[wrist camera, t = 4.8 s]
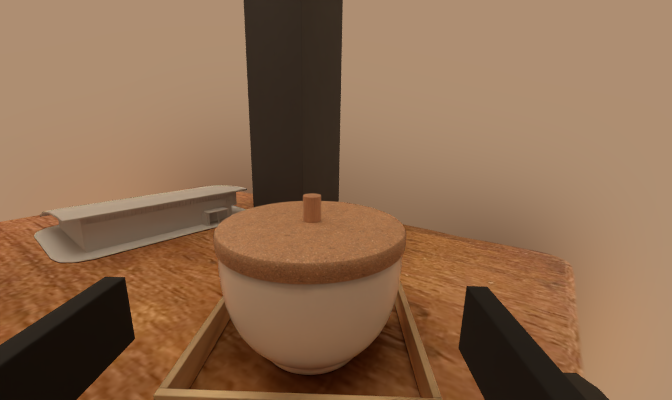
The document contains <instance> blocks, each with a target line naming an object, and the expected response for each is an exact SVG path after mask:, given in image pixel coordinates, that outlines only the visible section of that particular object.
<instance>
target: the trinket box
mask: <svg viewBox="0 0 672 400" xmlns="http://www.w3.org/2000/svg"><path fill="white" fill-rule="evenodd" d="M213 239H214V248H215V253H216V256H217V258H218V269H219V277H220V284H221V288H222V293H223V297H224V301H225V305H226V308H227V311H228V313H229V316H230V319H231V321H232V323H233V324H234V326H235V328H236V329H237V331H238V333H239V334H240V336H241V337H242V339H243V340H244V341H245V342H246V343H247V344H248V345H249V346H250V347H251V348H252V349H253V350H254V351H256V352H257V353H259V354H260V355H261V356H263V357H265V358H266V359H268V360H270V361H272V362H273V363H274V364H275V365H276V366H278V367H279V368H281V369H283V370H286V371H288V372H292V373H296V374H302V375H315V374H323V373H327V372H331V371H333V370H336V369H338V368H340V367H342V366H344V365H345V364H346V363H348V362H349V361H350V360H351V359H352V358H353V357H355V356H356V355H358V354H359V353H361V352H362V351H363V350H365V349H366V348H367V347H368V346H369V345H370V344H371V343H372V342H373V341H374V340H375V339H376V337H377V336H378V335H379V334H380V333H381V331H382V329H383V328H384V326H385V324H386V322H387V321H388V319H389V317H390V315H391V312H392V309H393V306H394V303H395V300H396V296H397V292H398V287H399V283H400V276H401V268H402V255H403V253H404V250H405V245H406V230H405V228H404V227H403V225H402V223H401V222H399V221H398V220H397V219H396V218H394V217H393V216H391V215H389V214H387V213H385V212H382V211H380V210H377V209H374V208H370V207H366V206H362V205H357V204H351V203H343V202H335V201H321V195H320V194H314V193H310V194H304V195H303V201H290V202H281V203H273V204H267V205H262V206H258V207H254V208H250V209H247V210H244V211H241V212H238V213H236V214H234V215H231V216H230V217H228V218H226V219H225V220H223V221H222V222H221V223H220V224H219V225H218V227H217V228H216V230H215V231H214V236H213Z"/></svg>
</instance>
